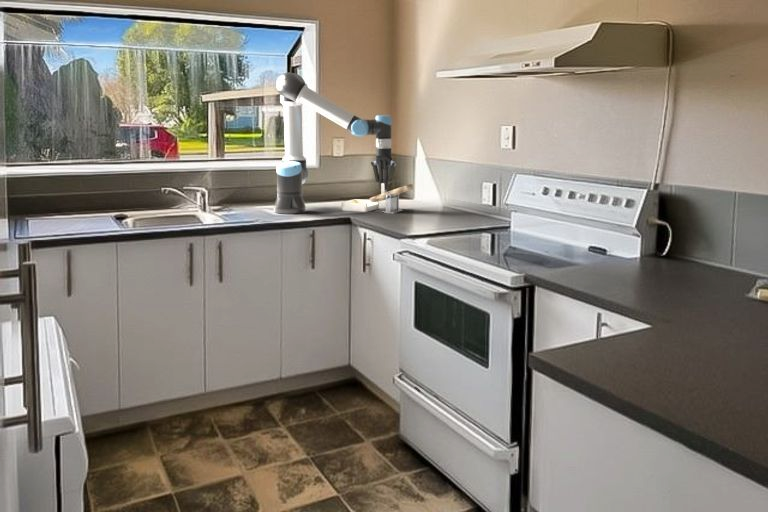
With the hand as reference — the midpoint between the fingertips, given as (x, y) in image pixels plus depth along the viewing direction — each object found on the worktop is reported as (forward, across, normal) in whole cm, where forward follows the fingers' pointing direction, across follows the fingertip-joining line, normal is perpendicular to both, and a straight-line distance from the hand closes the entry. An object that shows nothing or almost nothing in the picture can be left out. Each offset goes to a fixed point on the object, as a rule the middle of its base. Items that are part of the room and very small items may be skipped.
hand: (383, 196), depth 363 cm
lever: (-1, +7, -4) cm, 9 cm away
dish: (+6, -9, -7) cm, 13 cm away
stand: (+6, +8, -7) cm, 12 cm away
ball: (+4, -13, -7) cm, 15 cm away
